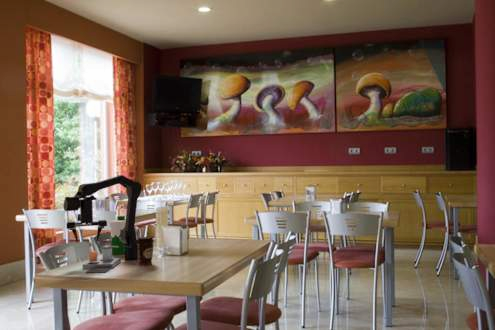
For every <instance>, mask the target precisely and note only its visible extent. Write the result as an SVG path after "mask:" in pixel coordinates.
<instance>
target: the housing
mask: <svg viewBox="0 0 495 330" xmlns="http://www.w3.org/2000/svg"><path fill="white" fill-rule="evenodd" d="M121 262H122V258H121V257H112V261H102V257H101V258H98V257H97V261H95V262H89V260H88V261H86V262H84V263H83V264H82V270H90V269H91V268H111V269H114V268H115V267H116V266H118V265H119V264H120V263H121Z"/></svg>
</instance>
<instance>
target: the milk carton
mask: <svg viewBox="0 0 495 330" xmlns="http://www.w3.org/2000/svg"><path fill="white" fill-rule="evenodd" d="M125 222H126V215H118V216H117V219H114V220H110V221H108V223H109V227H110V246H112V255H119V256H122V255H125V253H124V250H126V249H125V247H126V246H124V243H122V241H121V239H120V230H123V229H124V227H125Z"/></svg>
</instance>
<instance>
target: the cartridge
mask: <svg viewBox="0 0 495 330" xmlns="http://www.w3.org/2000/svg"><path fill="white" fill-rule="evenodd" d="M101 251H102V252H101V253H102V254H101V258H102V261H112V258H113V254H112V246H111V245H103V246H101Z"/></svg>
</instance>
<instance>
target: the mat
mask: <svg viewBox="0 0 495 330" xmlns="http://www.w3.org/2000/svg"><path fill="white" fill-rule="evenodd" d="M111 269H112V268H91V269H87V271H85V274H106V273H107V272H108V271H110V270H111Z"/></svg>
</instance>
